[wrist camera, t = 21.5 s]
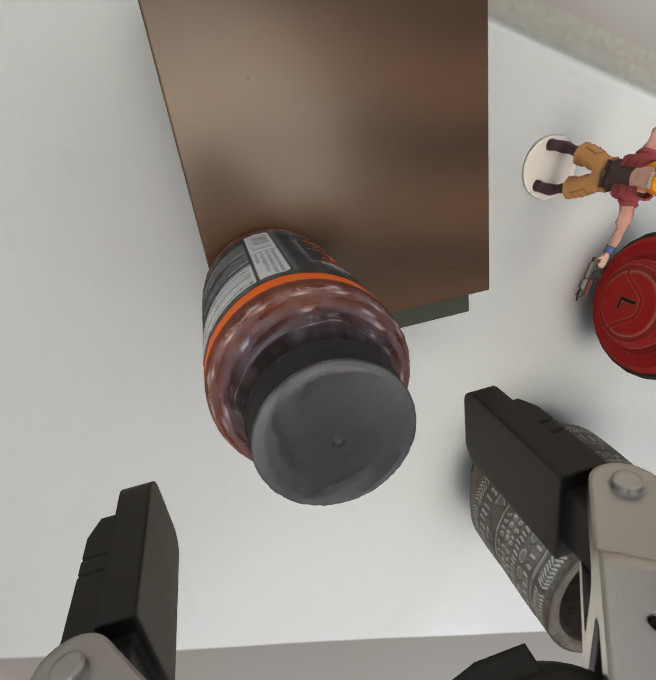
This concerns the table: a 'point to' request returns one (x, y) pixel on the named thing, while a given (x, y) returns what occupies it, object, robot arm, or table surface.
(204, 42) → the cabinet
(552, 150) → the action figure
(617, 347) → the headphones
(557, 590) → the planter
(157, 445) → the table surface
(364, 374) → the supplement bottle
